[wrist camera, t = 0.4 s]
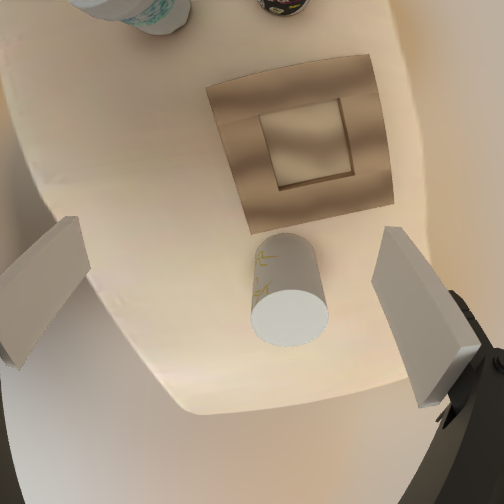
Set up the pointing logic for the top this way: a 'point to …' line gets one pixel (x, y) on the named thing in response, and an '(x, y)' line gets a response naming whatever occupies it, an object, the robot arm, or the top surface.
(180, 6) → the bottle
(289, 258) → the cup
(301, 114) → the socket block
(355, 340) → the top surface
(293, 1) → the beverage can
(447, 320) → the robot arm
